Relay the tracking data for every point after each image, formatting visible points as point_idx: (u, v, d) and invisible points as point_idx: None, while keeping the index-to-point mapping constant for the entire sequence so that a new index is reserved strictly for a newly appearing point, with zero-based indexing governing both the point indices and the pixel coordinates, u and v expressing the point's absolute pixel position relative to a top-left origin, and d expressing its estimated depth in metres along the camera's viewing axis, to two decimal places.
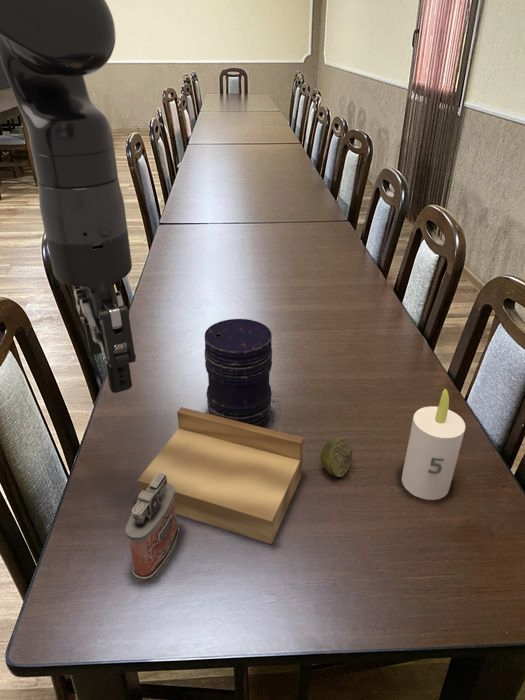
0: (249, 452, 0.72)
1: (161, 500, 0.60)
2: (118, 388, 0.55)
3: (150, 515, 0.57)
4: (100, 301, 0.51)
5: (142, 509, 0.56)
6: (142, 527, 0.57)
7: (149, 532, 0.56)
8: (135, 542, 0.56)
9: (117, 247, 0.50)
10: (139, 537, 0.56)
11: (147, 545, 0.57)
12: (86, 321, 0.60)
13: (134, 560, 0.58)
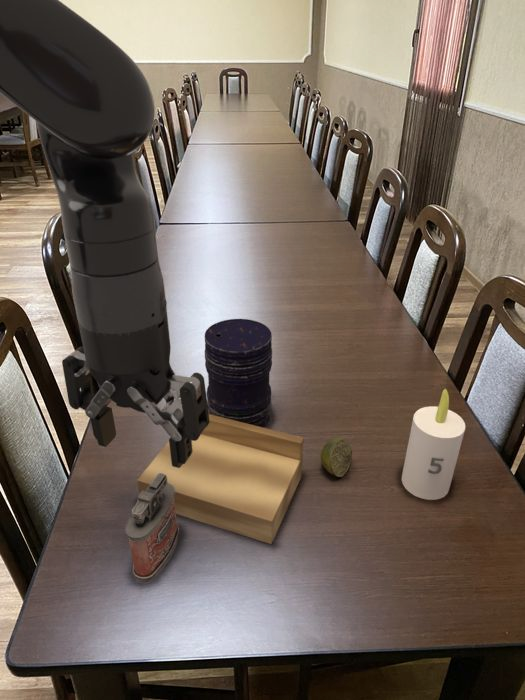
0: (249, 452, 0.72)
1: (161, 500, 0.60)
2: (186, 460, 0.52)
3: (150, 515, 0.57)
4: (166, 379, 0.48)
5: (142, 509, 0.56)
6: (142, 527, 0.57)
7: (149, 532, 0.56)
8: (135, 542, 0.56)
9: (167, 319, 0.47)
10: (139, 537, 0.56)
11: (147, 545, 0.57)
12: (98, 413, 0.53)
13: (134, 560, 0.58)
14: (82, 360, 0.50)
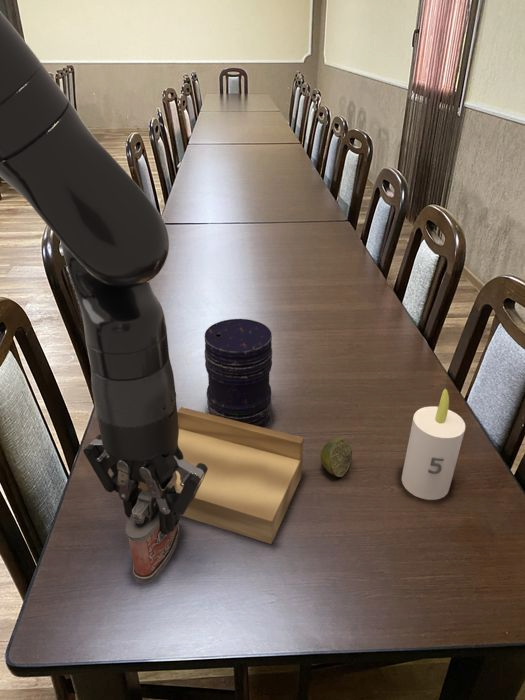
0: (249, 452, 0.72)
1: None
2: None
3: (150, 515, 0.57)
4: (176, 464, 0.53)
5: (142, 509, 0.56)
6: (142, 527, 0.57)
7: (149, 532, 0.56)
8: (135, 542, 0.56)
9: (176, 406, 0.52)
10: (139, 537, 0.56)
11: (147, 545, 0.57)
12: (130, 494, 0.57)
13: (134, 560, 0.58)
14: (99, 445, 0.56)
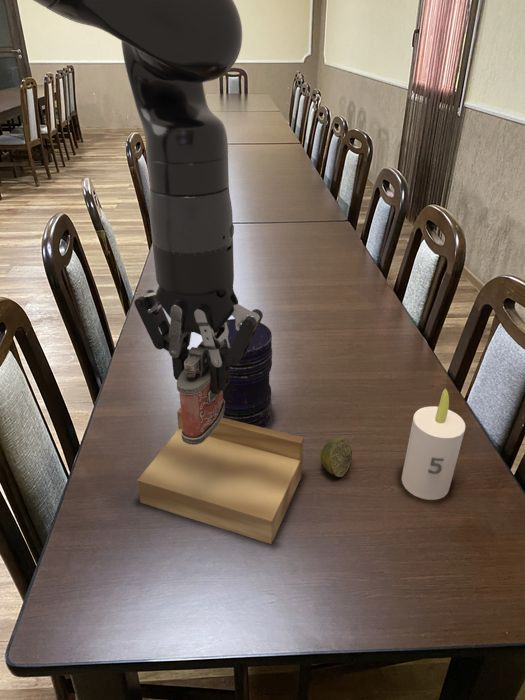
0: (249, 452, 0.72)
1: (210, 362, 0.59)
2: (224, 387, 0.57)
3: (201, 370, 0.56)
4: (232, 306, 0.52)
5: (194, 361, 0.55)
6: (194, 381, 0.56)
7: (201, 385, 0.55)
8: (187, 395, 0.55)
9: None
10: (191, 389, 0.55)
11: (198, 400, 0.56)
12: (180, 350, 0.56)
13: (184, 419, 0.57)
14: (151, 295, 0.55)
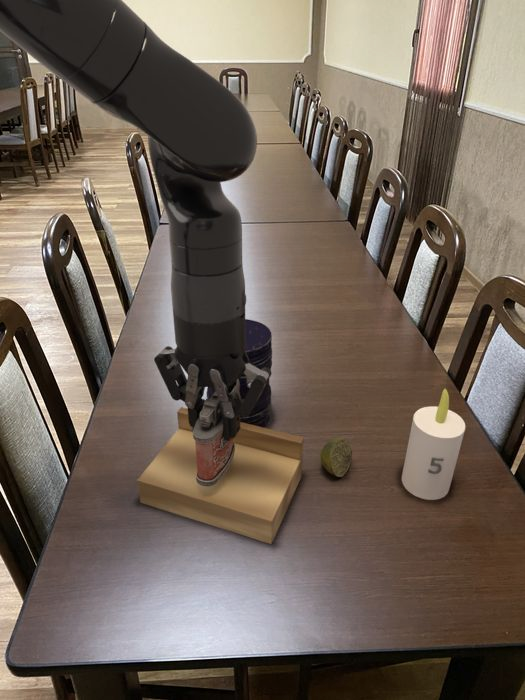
0: (249, 452, 0.72)
1: (222, 410, 0.64)
2: (235, 435, 0.63)
3: (215, 420, 0.62)
4: (244, 366, 0.57)
5: (208, 413, 0.60)
6: (208, 430, 0.61)
7: (215, 434, 0.61)
8: (202, 444, 0.61)
9: None
10: (206, 438, 0.60)
11: (212, 448, 0.61)
12: (195, 401, 0.62)
13: (199, 463, 0.62)
14: (169, 353, 0.60)
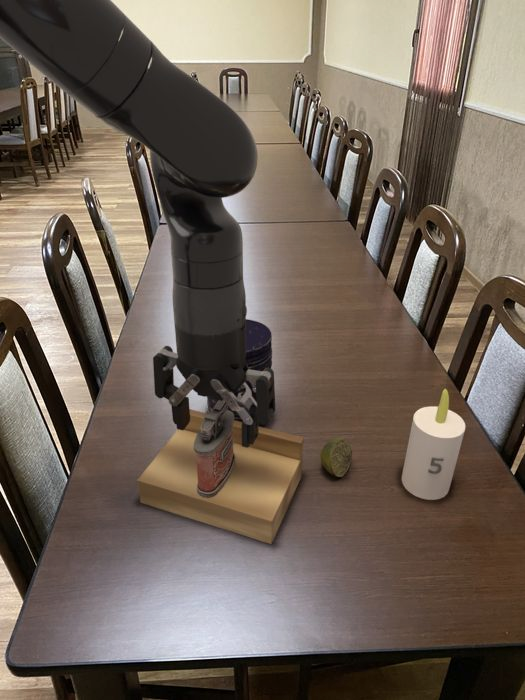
0: (249, 452, 0.72)
1: (223, 423, 0.65)
2: None
3: (215, 433, 0.63)
4: (243, 373, 0.58)
5: (209, 426, 0.61)
6: (209, 443, 0.62)
7: (216, 447, 0.62)
8: (203, 456, 0.62)
9: None
10: (207, 451, 0.61)
11: (212, 460, 0.62)
12: (180, 402, 0.63)
13: (200, 475, 0.63)
14: (170, 357, 0.61)
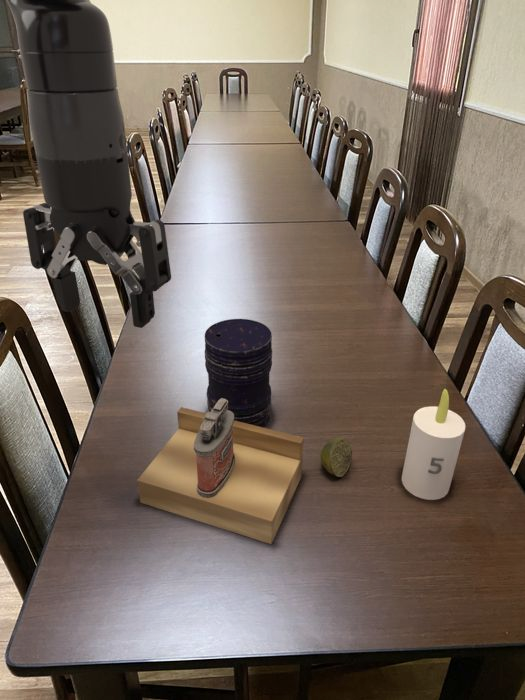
0: (249, 452, 0.72)
1: (223, 423, 0.65)
2: (148, 320, 0.52)
3: (215, 433, 0.63)
4: (125, 223, 0.47)
5: (209, 426, 0.61)
6: (209, 443, 0.62)
7: (216, 447, 0.62)
8: (203, 456, 0.62)
9: None
10: (207, 451, 0.61)
11: (212, 460, 0.62)
12: (60, 272, 0.52)
13: (200, 475, 0.63)
14: (44, 212, 0.50)
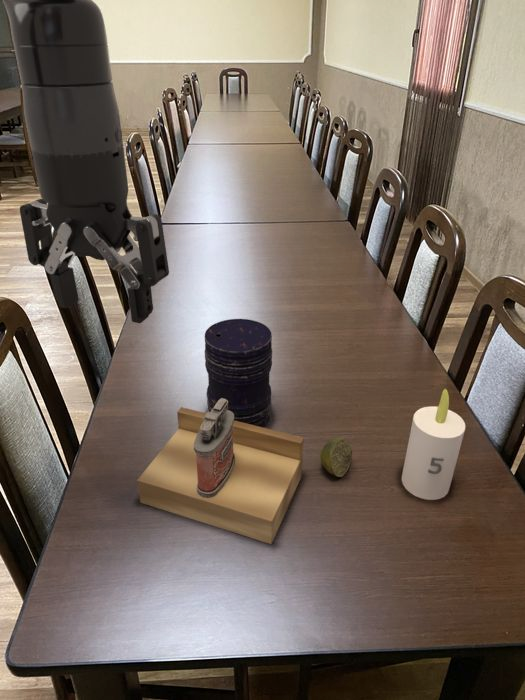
0: (249, 452, 0.72)
1: (223, 423, 0.65)
2: (146, 315, 0.52)
3: (215, 433, 0.63)
4: (122, 218, 0.47)
5: (209, 426, 0.61)
6: (209, 443, 0.62)
7: (216, 447, 0.62)
8: (203, 456, 0.62)
9: (124, 156, 0.47)
10: (207, 451, 0.61)
11: (212, 460, 0.62)
12: (57, 268, 0.52)
13: (200, 475, 0.63)
14: (40, 207, 0.50)
